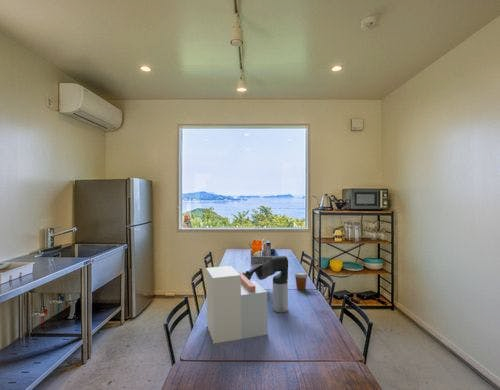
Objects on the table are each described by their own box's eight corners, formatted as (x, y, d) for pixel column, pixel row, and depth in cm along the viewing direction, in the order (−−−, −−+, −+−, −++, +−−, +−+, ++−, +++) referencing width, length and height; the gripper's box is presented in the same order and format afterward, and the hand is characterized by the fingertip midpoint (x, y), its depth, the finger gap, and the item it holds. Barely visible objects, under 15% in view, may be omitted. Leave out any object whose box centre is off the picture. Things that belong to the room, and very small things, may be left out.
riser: (206, 326, 160) (206, 267, 160) (255, 318, 169) (254, 263, 169) (213, 343, 141) (212, 278, 141) (267, 334, 150) (266, 272, 150)
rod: (235, 277, 176) (235, 272, 176) (240, 277, 177) (240, 272, 177) (249, 292, 149) (249, 286, 149) (255, 291, 150) (255, 286, 150)
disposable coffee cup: (299, 286, 226) (299, 270, 226) (310, 289, 219) (309, 273, 219) (292, 289, 219) (291, 273, 219) (302, 292, 212) (302, 275, 212)
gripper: (223, 275, 184) (228, 268, 170) (244, 273, 188) (251, 265, 175) (224, 287, 180) (229, 280, 167) (246, 285, 184) (253, 278, 171)
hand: (240, 273), depth 171 cm, fingers open, 8 cm apart
